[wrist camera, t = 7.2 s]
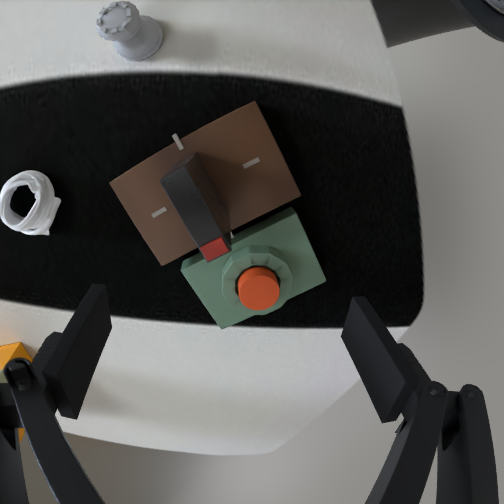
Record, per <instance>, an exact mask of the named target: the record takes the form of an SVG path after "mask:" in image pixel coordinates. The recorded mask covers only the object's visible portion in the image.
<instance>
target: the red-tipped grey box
mask: <svg viewBox="0 0 504 504" xmlns="http://www.w3.org/2000/svg"><path fill="white" fill-rule="evenodd" d="M159 182H160V184H161V185H162V187H163V189H164V191H165V192H166V194H167V196H168V198H169V199H170V201H171V203H172V204H173V206H174V208H175V210H176V211H177V213H178V215H179V216H180V218H181V220H182V222H183V223H184V225H185V227H186V228H187V230H188V232H189V233H190V235H191V237H192V238H193V240H194V242H195V243H196V245H197V247H198V248H199V250H200V252H201V253H202V255H203V257H204V258H205V260H206V262H207V263H208V262H211V261H213V260H215V259H217V258H219V257H221V256H223V255H225V254H227V253H229V252H231V251H232V242H231V228H230V214H229V211H228V209H227V207H226V205H225V204H224V202H223V200H222V198H221V196H220V194H219V192H218V191H217V189H216V187H215V185H214V183H213V181H212V179H211V177H210V176H209V174H208V172H207V170H206V168H205V166H204V164H203V163H202V161H201V159H200V157H199V155H198V153H197V152H194V153H192V154H190V155H188V156H186V157H184V158H183V159H181V160H179V161H177V162H176V164H175V165H174V166H173V167H172V168H171V169H170V170H169V171H168V172H167V173H166V174H165V175H164V176H163V177H162V178H161V180H160V181H159Z"/></svg>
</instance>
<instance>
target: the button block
mask: <svg viewBox="0 0 504 504" xmlns="http://www.w3.org/2000/svg"><path fill="white" fill-rule="evenodd" d="M233 236H234V238H232V239H231V242H232V251H231V252H229V253H227V254H225V255H223V256H221V257H219V258H217V259H215V260H213V261H211V262H208V263H207V262H206V260H205V258H204V257H203V255H202V253H201V252H200V253H198V254H196V255H194V256H192V257H190V258H188V259H186V260H184V261H183V264H182V268H181V272H182V273H183V275H184V276H185V278H186V279H187V281H188V282H189V284H190V285H191V287H192V288H193V289H194V291H195V292H196V294H197V295H198V297H199V298H200V300H201V301H202V303H203V304H204V305H205V307H206V308H207V310H208V311H209V313H210V314H211V315H212V317H213V318H214V320H215V321H216V322H217V324H218V325H219V327H220V328H221V329H224V328H226V327H229V326H231V325H233V324H236V323H238V322H240V321H242V320H244V319H247V318H249V317H251V316H253V315H264V314H267V313H270V312H272V311H274V310H276V309H278V308H280V307H282V305H283V304H284V303H285V302H286V300H288V299H290V298H292V297H294V296H296V295H298V294H300V293H303V292H305V291H307V290H309V289H311V288H313V287H315V286H317V285H319V284H321V283H323V282H325V281H326V278H325V276H324V274H323V271H322V269H321V267H320V264H319V262H318V260H317V258H316V255H315V253H314V251H313V249H312V246H311V244H310V242H309V240H308V238H307V235H306V233H305V231H304V229H303V227H302V224H301V222H300V220H299V218H298V216H297V214H296V212H295V211H294V209H293V208H292V207H289V208H287V209H285V210H283V211H281V212H279V213H277V214H275V215H273V216H271V217H269V218H267V219H265V220H263V221H261V222H259V223H257V224H255V225H253V226H251V227H249V228H247V229H245V230H243V231H241V232H239V233H237V234H235V235H233ZM252 267H265V268H267V269H269V270H271V271H272V272H273V273H274V274H275V276H276V279H277V282H278V285H279V289H280V294H279V298H278V300H277V301H276V303H275V304H274V305H272V306H271V307H269V308H267V309H264V310H252V309H249V308H247V307H246V306H244V305H243V304H242V302H241V301H240V298H239V291H238V281H239V278H240V276H241V275H242V273H243V272H245V271H246V270H247V269H249V268H252Z"/></svg>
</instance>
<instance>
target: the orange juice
mask: <svg viewBox="0 0 504 504" xmlns="http://www.w3.org/2000/svg"><path fill="white" fill-rule="evenodd" d="M18 357H22V358H26V359H28V360H29V361H30V362H31V363H32V361H33V359H32V358H31V356H30V355H29V354H28V352H27V351H26V349H25V348H24V346H23V345H22V343H21V342H18V343H13V344H9V345H4V346H0V383H8V382H7V380H6V378H5V376H4V373H3V369H4V366H5V364H6V363H7V362H8V361H10V360H12V359H14V358H18ZM18 431H19V442H21V440H22V437H23V435H24V432H25V430H24V428H18Z"/></svg>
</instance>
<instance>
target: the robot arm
mask: <svg viewBox="0 0 504 504" xmlns="http://www.w3.org/2000/svg"><path fill="white" fill-rule="evenodd" d="M481 1H482V2H483V3H484V4H486V5H487V6H488V7H489V8H490V9H492V10H493V11H495V12H496V13H498V14H500V15H502V16H504V0H481ZM111 329H112V324H111V318H110V312H109V305H108V298H107V291H106V285H98V284H92V286H91V287H90V289H89V290H88V292H87V294H86V295H85V297H84V298H83V300H82V301H81V303H80V305H79V306H78V308H77V310H76V311H75V313H74V314H73V316H72V318H71V319H70V321H69V323H68V324H67V326H66V328H65V330H64V331H63V333H59V332H53V333H52V334H50V335H49V336H48V337H47V338H46V339H45V341H44V342H43V344H42V347H40V349H39V351H38V353H37V354H36V356H35V357H34V359H33V361H32V363H31V362H30V361H29V360H28V359H26V358H22V357H18V358H14V359H12V360H10V361H8V362H7V363H6V364H5V366H4V369H3V373H4V376H5V378H6V380H7V382H8V383H0V504H29V501H28V496H27V491H26V486H25V479H24V474H23V467H22V460H21V452H20V442H19V431H18V428H24V430H25V432H26V435H27V437H28V440H29V443H30V445H31V447H32V450H33V452H34V454H35V457H36V459H37V461H38V464H39V466H40V468H41V470H42V472H43V475H44V477H45V479H46V480H47V483H48V485H49V487H50V489H51V490H52V493H53V494H54V496H55V498H56V500H57V502H58V504H106V503H105V502H104V501H103V499H102V497H101V496H100V495H99V493H98V491H97V490H96V488H95V487H94V486H93V484H92V482H91V481H90V479H89V478H88V476H87V474H86V473H85V471H84V469H83V468H82V466H81V464H80V462H79V461H78V459H77V457H76V455H75V454H74V452H73V450H72V448H71V446H70V445H69V443H68V441H67V439H66V437H65V435H64V433H63V431H62V429H61V427H60V425H59V423H58V421H57V419H56V417H55V413H56V410H57V408H58V410H59V412H60V414H61V416H63V417H67V418H72V419H76V420H77V418H78V415H79V412H80V409H81V407H82V404H83V401H84V398H85V395H86V393H87V390H88V387H89V384H90V382H91V379H92V376H93V374H94V371H95V369H96V366H97V363H98V361H99V358H100V356H101V353H102V351H103V348H104V346H105V343H106V341H107V339H108V336H109V334H110V331H111ZM341 338H342V340H343V342H344V344H345V346H346V348H347V350H348V352H349V354H350V356H351V358H352V360H353V362H354V364H355V366H356V369H357V371H358V373H359V375H360V377H361V379H362V381H363V383H364V385H365V388H366V390H367V392H368V394H369V396H370V398H371V400H372V403H373V405H374V407H375V409H376V411H377V413H378V416H379V418H380V420H381V422H382V423H386V422H391V421H396V419H397V418H398V416H399V415H400V413H402V415H403V417H404V419H403V421H402V422H401V424H400V425H399V427H398V429H397V430H396V431H395V433H397V432H398V433H397V435H396V438H395V440H394V442H393V445H392V447H391V450H390V452H389V455H388V457H387V459H386V461H385V464H384V466H383V468H382V470H381V472H380V474H379V476H378V479H377V480H376V483H375V485H374V487H373V489H372V491H371V493H370V495H369V496H368V498H367V500H366V502H365V504H419V502H420V499H421V496H422V493H423V491H424V488H425V485H426V482H427V479H428V476H429V472H430V469H431V466H432V462H433V459H434V456H435V452H436V448H438V449H437V450H438V467H437V468H438V469H437V470H438V471H437V497H436V504H499V498H498V485H497V473H496V464H495V456H494V449H493V442H492V436H491V430H490V424H489V419H488V414H487V410H486V405H485V400H484V396H483V393H482V391H481V390H480V389H479V388H478V387H477V386H474V385H472V384H466V385H464V386H463V387H462V389H461V390H460V392H455V391H448V390H447V389H446V387H445V386H444V385H442V384H441V383H439V382H436V381H431V379H430V378H429V376H428V375H427V374H426V372H425V371H424V369H423V367H422V366H421V365H420V363H418V360H417V359H416V358H415V356H414V354H413V353H412V351H411V350H410V349H409V348H408V347H407V346H405V345H404V344H403V343H399V344H397V343H396V341H395V340H394V338H393V337H392V335H391V334H390V332H389V331H388V329H387V328H386V326H385V325H384V324H383V322H382V321H381V319H380V318H379V316H378V315H377V313H376V312H375V310H374V309H373V308H372V306H371V305H370V303H369V302H368V301H367V299H366V298H365V297H352V301H351V304H350V308H349V311H348V315H347V318H346V322H345V325H344V328H343V331H342V335H341Z"/></svg>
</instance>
